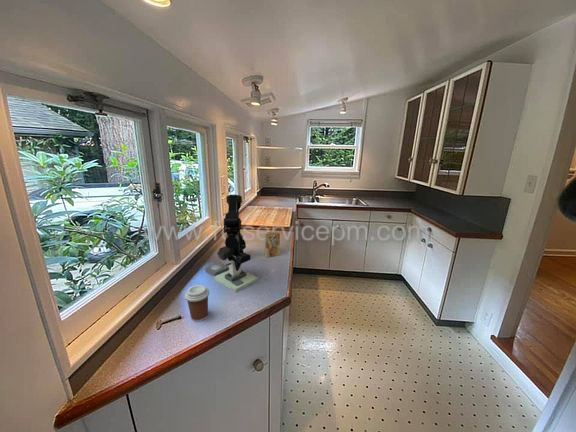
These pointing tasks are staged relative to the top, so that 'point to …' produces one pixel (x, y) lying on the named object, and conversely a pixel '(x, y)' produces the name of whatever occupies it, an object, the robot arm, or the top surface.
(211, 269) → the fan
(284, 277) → the top surface
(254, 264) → the top surface
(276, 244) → the candy box
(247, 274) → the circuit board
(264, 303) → the top surface
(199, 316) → the coffee cup
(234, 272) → the plug
